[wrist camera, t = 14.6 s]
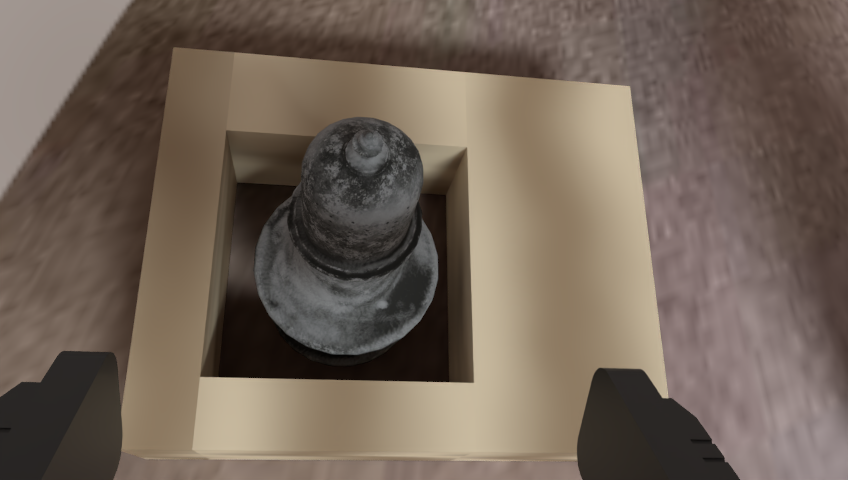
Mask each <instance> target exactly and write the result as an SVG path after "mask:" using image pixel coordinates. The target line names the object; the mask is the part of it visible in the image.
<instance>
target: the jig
mask: <svg viewBox="0 0 848 480" xmlns="http://www.w3.org/2000/svg"><path fill="white" fill-rule="evenodd" d="M353 117H370V118H376V119H379V120H382V121H386V122H389V123H390V124H392V125H394V126H396V127H397V128H399V129H401V130H402V131H403V132H404V133H405V134H406V135H407V136H408V137H409V138H410V139H411V140H412V141H413V143H414V144H415V146H416V148H417V149H418V151H419V154H420V157H421V160H422V164H423V187H422V190H421V193H422V194H438V195H446V225H447V285H448V345H449V382H408V381H361V380H315V379H269V378H222V377H218V375H219V364H220V354H221V344H222V333H223V323H224V313H225V303H226V292H227V282H228V272H229V262H230V251H231V241H232V231H233V221H234V210H235V200H236V190H237V182H239V183H255V184H272V185H289V186H298V185H299V184H300V182H301V171H302V161H303V158H304V156H305V153H306V151H307V148H308V146H309V145H310V143H311V142H312V141H313V139H314V138H315V137H316V135H317V134H318V133H319V132H320V131H322V130H323V129H324V128H326V127H327V126H328V125H330V124H332V123H335V122H337V121H340V120H342V119H347V118H353ZM598 368H628V369H642V370H643V371H645V373H646V374H647V375H648V377H649V378H650V380H651V381H652V383H653V384H654V386H655V387H656V389H657V390H658V392H659V393H660V395H661V396H662V398H668V390H667V382H666V374H665V366H664V358H663V350H662V342H661V334H660V326H659V318H658V310H657V302H656V294H655V286H654V277H653V269H652V261H651V253H650V245H649V237H648V229H647V221H646V213H645V205H644V197H643V189H642V181H641V173H640V164H639V156H638V148H637V140H636V132H635V124H634V116H633V108H632V100H631V92H630V86H620V85H608V84H597V83H585V82H573V81H562V80H550V79H538V78H527V77H515V76H503V75H492V74H480V73H469V72H457V71H445V70H434V69H422V68H410V67H399V66H387V65H375V64H364V63H352V62H340V61H329V60H317V59H305V58H294V57H282V56H270V55H259V54H247V53H235V52H224V51H212V50H201V49H189V48H177V47H173V53H172V60H171V67H170V74H169V81H168V88H167V95H166V102H165V109H164V116H163V123H162V130H161V137H160V144H159V151H158V158H157V165H156V172H155V179H154V186H153V193H152V200H151V207H150V214H149V221H148V228H147V235H146V242H145V249H144V256H143V263H142V270H141V277H140V284H139V291H138V298H137V305H136V312H135V319H134V326H133V333H132V340H131V347H130V354H129V361H128V368H127V375H126V382H125V389H124V396H123V403H122V410H121V417H122V430H123V437H122V449H121V451H123V452H126V453H129V454H132V455H135V456H138V457H142V458H145V459H227V460H411V461H578V460H577V441H578V435H579V431H580V427H581V423H582V419H583V415H584V410H585V406H586V402H587V398H588V394H589V390H590V386H591V381H592V378H593V375H594V373H595V371H596V370H597V369H598Z"/></svg>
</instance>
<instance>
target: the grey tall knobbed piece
mask: <svg viewBox="0 0 848 480" xmlns="http://www.w3.org/2000/svg"><path fill="white" fill-rule="evenodd" d="M422 187H423V164H422V160H421V157H420V154H419V151H418V149H417V148H416V146H415V144H414V143H413V141H412V140H411V139H410V138H409V137H408V136H407V135H406V134H405V133H404V132H403V131H402V130H401V129H399V128H397V127H396V126H394V125H392V124H390V123H389V122H386V121H382V120H379V119H376V118H370V117H353V118H347V119H342V120H340V121H337V122H335V123H332V124H330V125H328V126H327V127H326V128H324V129H323V130H322V131H320V132H319V133H318V134H317V135H316V137H315V138H314V139H313V141H312V142H311V143H310V145H309V146H308V148H307V151H306V153H305V156H304V158H303V161H302V171H301V182H300V184H299V185H298V186H297V187H296V189H295V190H294V192H293V195H292V196H291V197H290V198H289V199H287V200H286V201H285V202H284V203H282V204H281V205H280V206H278V207H277V209H276V210H275V211H274V213H273V214H272V215H271V217H270V218H269V219H268V221H267V222H266V223H265V225H264V226H263V229H262V231H261V234H260V237H259V239H258V242H257V245H256V247H255V258H254V270H253V271H254V276H255V281H256V286H257V291H258V295H259V297H260V299H261V301H262V303H263V305H264V307H265V309H266V310H267V312H268V314H269V316H270V317H271V318H272V319H273V321H274V323H275V325H276V327H277V329H278V331H279V333H280V334H281V336H282V337H283V338H284V339H285V340H286V342H287V343H288V344H289V345H290V346H291V347H292V348H293V349H294V350H295V351H297V352H299V353H300V354H302V355H303V356H305V357H307V358H308V359H310V360H312V361H316V362H319V363H322V364H326V365H329V366H353V365H357V364H361V363H365V362H369V361H371V360H373V359H375V358H376V357H378V356H380V355H382V354H384V353H386V352H387V351H388V350H389V349H390V348H391V347H392V346H393V345H394V344H395V343H396V342H397V341H398V340H399V339H401V338H403V337H404V336H405V335H406V334H407V333H408V332H409V331H410V330H411V329H412V328H413V327H414V326H415V325H417V324H418V323H419V322H420V320H421V319H422V317H423V315H424V314H425V312H426V310H427V309H428V307H429V305H430V303H431V302H432V300H433V296H434V292H435V288H436V285H437V281H438V255H437V251H436V248H435V244H434V241H433V237H432V234H431V233H430V231H429V229H428V228H427V226H426V224H425V223H424V221H423V219H422V212H421V208H420V205H419V201H418V199H419V197H420V193H421V190H422Z"/></svg>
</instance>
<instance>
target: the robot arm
mask: <svg viewBox="0 0 848 480" xmlns="http://www.w3.org/2000/svg"><path fill="white" fill-rule="evenodd" d="M122 437H123V430H122V417H121V405H120V393H119V380H118V368H117V361H116V357H115V355H114V353H112V352H82V351H62V352H61V353H60V354H59V355H58V356H57V358H56V359H55V361H54V362H53V364H52V366H51V367H50V369H49V370H48V372H47V373H46V375H45V376H44V378H43V380H42V381H41V383H39V382H21V383H20V384H18V385H17V386H15V387H14V388H13V389H11V390H10V391H8V392H7V393H6V394H4V395H3V396H1V397H0V480H113V478H114V476H115V473H116V471H117V468H118V464H119V460H120V455H121V449H122ZM724 459H725V458H724V456H723V455H722V453H721V452H720V450H719V449H718V448H717V446H716V445H715V444H712V439H711V438H710V436H709V435H708V433H707V432H706V431H705V429H704V428H703V426H702V425H701V423H700V422H699V421H698V419H697V418H696V417H695V416H694V415H692V414H691V413H690V412H689V411H687V410H686V409H685V408H683V407H682V406H681V405H680V404H678V403H677V402H676V401H674V400H673V399H672V398H662V396H661V395H660V393H659V392H658V390H657V389H656V387H655V386H654V384H653V383H652V381H651V380H650V378H649V377H648V375H647V374H646V373H645V371H643V370H642V369H628V368H598V369H597V370H596V371H595V373H594V375H593V378H592V381H591V386H590V390H589V394H588V398H587V402H586V406H585V410H584V415H583V419H582V423H581V427H580V431H579V435H578V441H577V460H578V467H579V471H580V474H581V477H582V479H583V480H740V479H739V477H738V476H737V475H736V473H735V472H734V470H733V469H732V467H731V466H730V465H729V463H728V462H725V460H724Z"/></svg>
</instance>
